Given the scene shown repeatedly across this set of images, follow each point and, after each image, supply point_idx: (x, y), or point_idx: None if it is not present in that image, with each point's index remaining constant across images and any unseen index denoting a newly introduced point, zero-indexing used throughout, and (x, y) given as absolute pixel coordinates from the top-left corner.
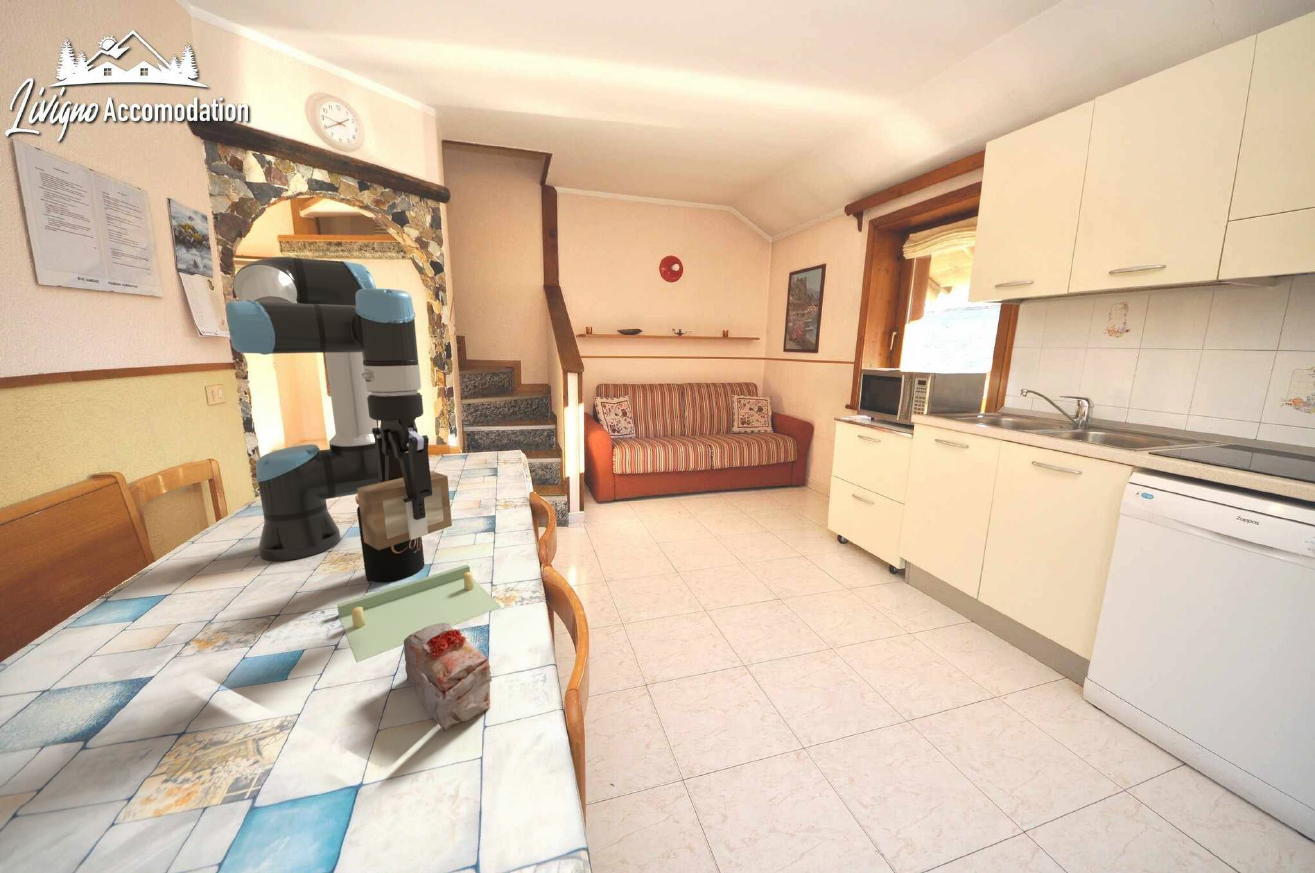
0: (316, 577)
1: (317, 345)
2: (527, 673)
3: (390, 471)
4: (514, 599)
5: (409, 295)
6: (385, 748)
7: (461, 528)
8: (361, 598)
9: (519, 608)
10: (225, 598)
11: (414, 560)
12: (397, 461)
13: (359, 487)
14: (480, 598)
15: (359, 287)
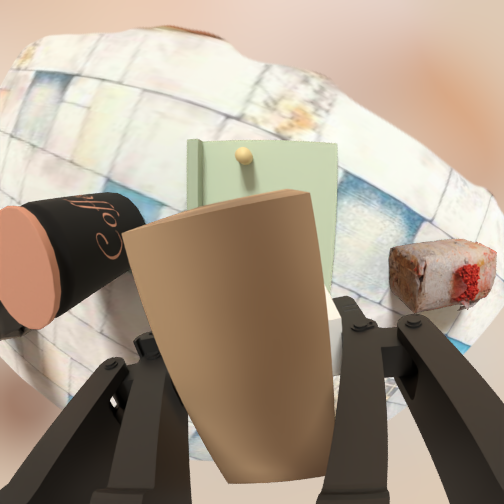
0: (75, 309)
1: None
2: (450, 189)
3: (186, 452)
4: (306, 112)
5: None
6: (434, 318)
7: (38, 119)
8: None
9: (335, 119)
10: (88, 374)
11: (127, 215)
12: (173, 472)
13: (227, 480)
14: (291, 156)
15: None
